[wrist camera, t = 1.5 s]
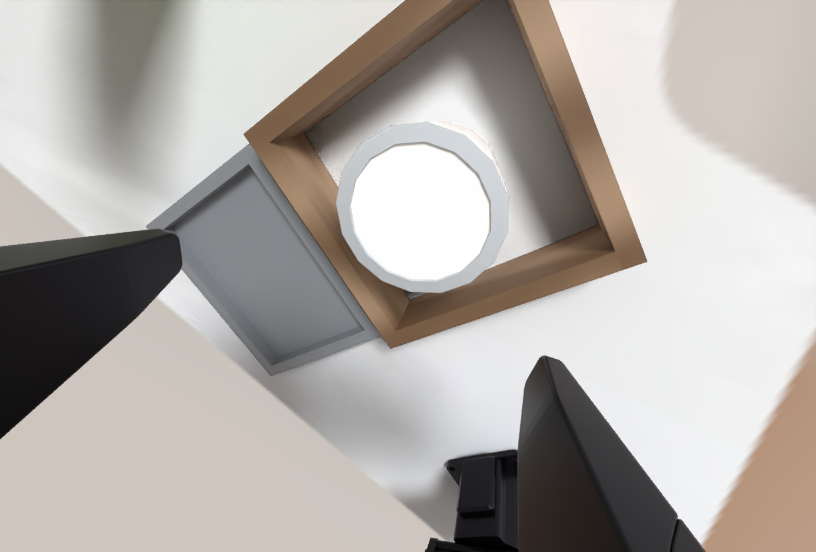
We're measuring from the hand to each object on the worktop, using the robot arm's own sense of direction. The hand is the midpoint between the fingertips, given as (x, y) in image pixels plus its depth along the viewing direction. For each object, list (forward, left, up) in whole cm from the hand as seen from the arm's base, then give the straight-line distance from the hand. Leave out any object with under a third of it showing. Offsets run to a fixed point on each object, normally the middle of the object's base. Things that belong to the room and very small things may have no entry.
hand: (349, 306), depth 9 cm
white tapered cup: (0, 0, -14) cm, 14 cm away
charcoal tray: (0, +14, -13) cm, 19 cm away
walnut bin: (0, 0, -13) cm, 13 cm away
